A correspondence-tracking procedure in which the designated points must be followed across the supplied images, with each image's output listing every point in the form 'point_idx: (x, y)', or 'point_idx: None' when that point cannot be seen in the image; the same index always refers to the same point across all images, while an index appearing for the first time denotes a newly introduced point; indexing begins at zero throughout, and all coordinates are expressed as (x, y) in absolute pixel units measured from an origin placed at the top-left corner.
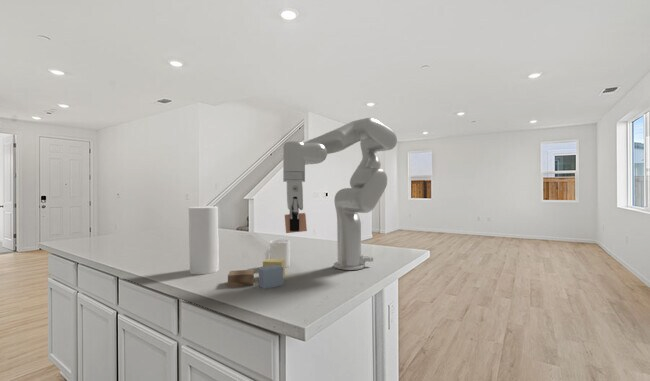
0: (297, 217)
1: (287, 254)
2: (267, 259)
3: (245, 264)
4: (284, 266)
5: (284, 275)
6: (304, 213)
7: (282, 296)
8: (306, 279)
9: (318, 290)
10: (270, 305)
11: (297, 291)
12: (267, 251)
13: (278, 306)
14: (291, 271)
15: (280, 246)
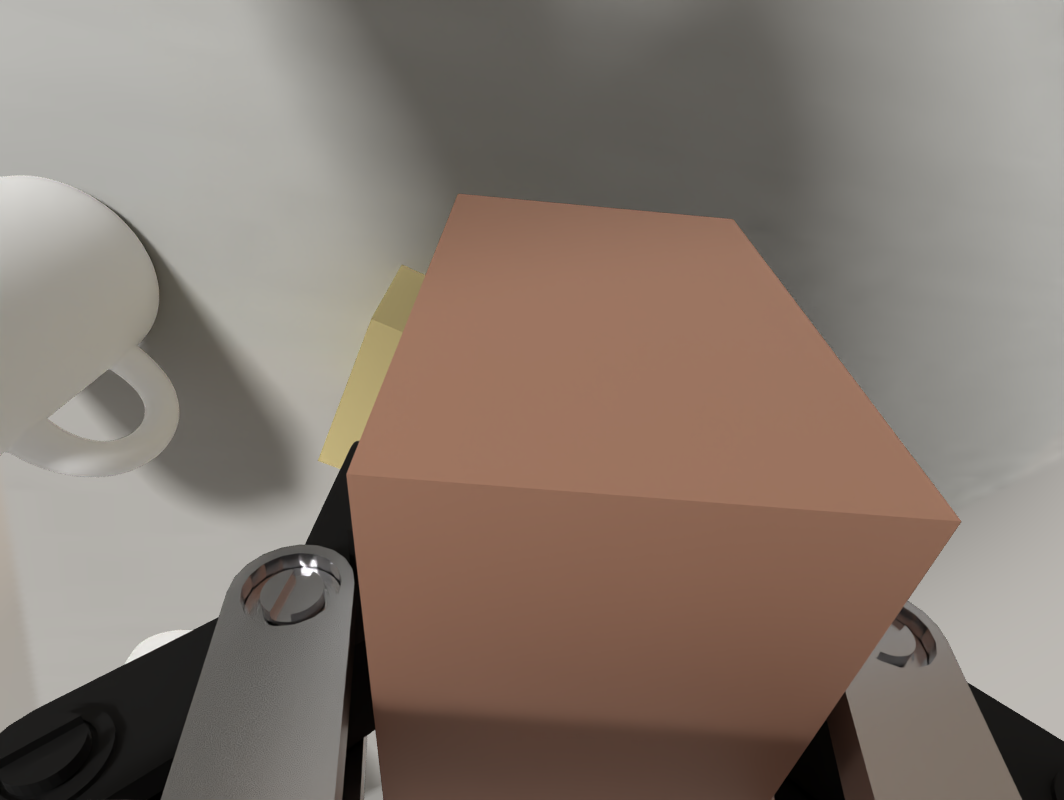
0: (930, 668)
1: (29, 244)
2: (335, 457)
3: (27, 505)
4: (401, 302)
5: (418, 275)
6: (762, 527)
7: (878, 342)
8: (559, 99)
9: (905, 62)
10: (981, 415)
11: (836, 234)
12: (124, 466)
13: (1025, 380)
14: (263, 191)
15: (19, 366)
